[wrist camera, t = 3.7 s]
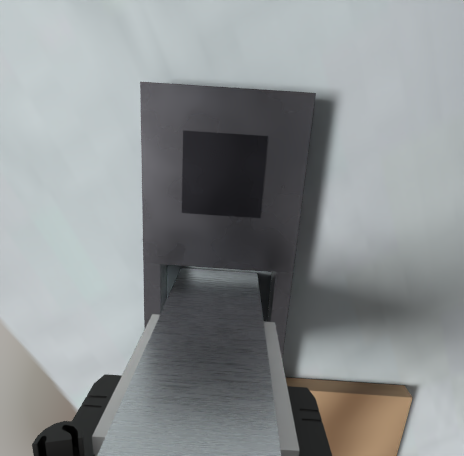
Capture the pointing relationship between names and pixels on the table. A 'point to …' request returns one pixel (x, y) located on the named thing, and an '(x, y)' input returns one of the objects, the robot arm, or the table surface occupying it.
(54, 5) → the table surface
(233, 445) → the tall grey prism
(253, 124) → the dark grey slotted board
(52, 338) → the table surface
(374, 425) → the pad
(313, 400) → the robot arm
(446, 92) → the table surface
